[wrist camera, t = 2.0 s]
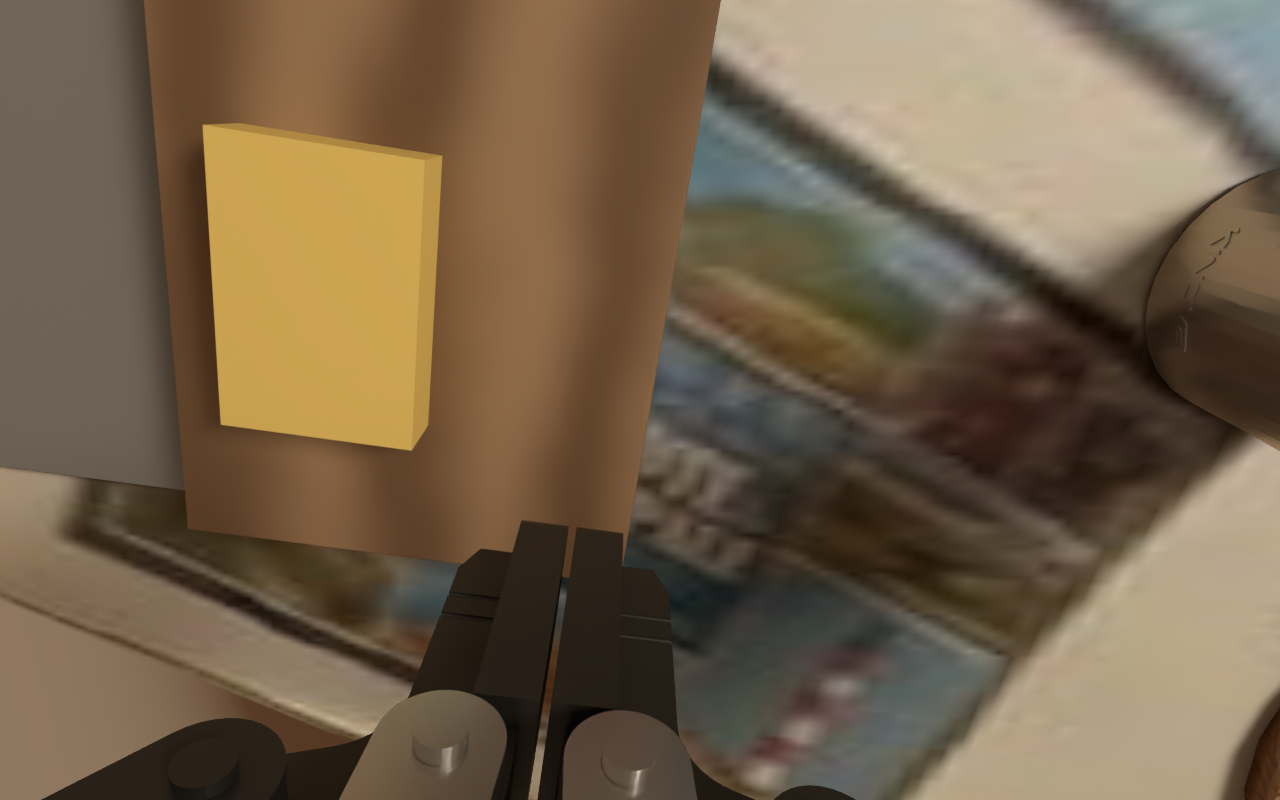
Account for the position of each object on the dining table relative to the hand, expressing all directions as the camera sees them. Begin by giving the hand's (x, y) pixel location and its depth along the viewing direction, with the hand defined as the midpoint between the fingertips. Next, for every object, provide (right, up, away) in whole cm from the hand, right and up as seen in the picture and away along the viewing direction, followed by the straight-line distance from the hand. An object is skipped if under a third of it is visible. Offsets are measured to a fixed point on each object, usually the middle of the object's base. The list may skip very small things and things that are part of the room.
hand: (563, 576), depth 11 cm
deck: (-6, +7, +15) cm, 18 cm away
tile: (-8, +6, +12) cm, 16 cm away
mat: (-19, +9, +15) cm, 25 cm away
